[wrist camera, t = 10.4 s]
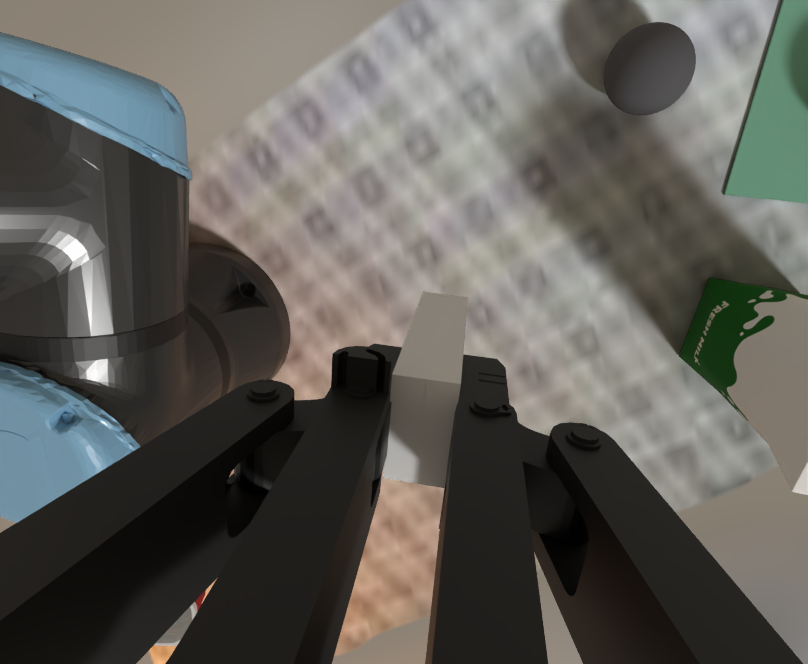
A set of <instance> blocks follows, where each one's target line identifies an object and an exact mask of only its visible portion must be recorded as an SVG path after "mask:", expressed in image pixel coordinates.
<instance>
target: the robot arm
mask: <svg viewBox="0 0 808 664" xmlns="http://www.w3.org/2000/svg"><path fill="white" fill-rule="evenodd" d="M186 137H187V136H186V120H185V115H184V111H183V109H182V107H181V105H180V103H179V102H178V100H177V99H176V97H175V96H174V95H173V94H172V93H171V92H170V91H169V90H168V89H166V88H165V87H163V86H162V85H160V84H159V83H157V82H155V81H152V80H150V79H147V78H145V77H142V76H139V75H137V74H134V73H131V72H128V71H125V70H123V69H120V68H117V67H114V66H111V65H108V64H105V63H102V62H99V61H96V60H92V59H89V58H86V57H83V56H80V55H77V54H73V53H70V52H67V51H64V50H60V49H57V48H54V47H50V46H47V45H44V44H40V43H37V42H33V41H30V40H26V39H23V38H20V37H15V36H12V35H9V34H5V33H1V32H0V517H2V518H5V519H7V520H10V521H12V522H15V523H16V524H14V525H13V526H11V527H10V528H8V529H6V530H4V531H3V532H1V533H0V664H136V663H137V662H138V661H139V660H140V659H141V658H142V657H143V656H144V655H145V654H146V653H147V652H148V651H149V649H150V648H151V647H152V646H153V645H154V644H155V643H156V642H157V641H158V640H159V639H160V638H161V637H162V636H163V635H164V634H165V633H166V631H167V630H168V629H169V628H170V627H171V626H172V625H173V624H174V623H175V622H176V621H177V620H178V619H179V618H180V617H181V616H182V615H183V613H184V612H185V611H186V610H187V609H188V608H189V607H190V606H191V605H192V604H193V603H194V602H195V601H196V600H197V599H198V598H199V597H200V595H201V594H202V593H203V592H204V591H205V590H206V589H207V588H208V587H209V586H210V585H211V584H212V583H213V582H214V581H215V580H216V579H217V580H216V581H215V583H214V585H213V586H212V588H211V590H210V591H209V593H208V595H207V596H206V598H205V600H204V602H203V603H202V605H201V607H200V608H199V610H198V612H197V613H196V615H195V617H194V618H193V620H192V622H191V623H190V625H189V627H188V628H187V630H186V632H185V633H184V635H183V637H182V638H181V640H180V642H179V643H178V645H177V647H176V649H175V650H174V652H173V654H172V655H171V657H170V658H169V659H168V661H167V662H166V664H332V661H333V657H334V654H335V650H336V646H337V643H338V639H339V636H340V632H341V629H342V625H343V621H344V618H345V614H346V611H347V607H348V604H349V600H350V597H351V593H352V589H353V586H354V582H355V579H356V575H357V572H358V568H359V565H360V561H361V557H362V554H363V550H364V547H365V543H366V540H367V536H368V532H369V529H370V525H371V522H372V518H373V515H374V511H375V508H376V504H377V500H378V497H379V493H380V486H381V475H382V470H383V467H384V472H383V478H386V479H392V480H398V481H404V482H410V483H417V484H423V485H429V486H435V487H441V488H445V490H444V497H443V504H442V511H441V518H440V525H439V529H440V532H439V542H438V551H437V560H436V569H435V579H434V588H433V597H432V606H431V616H430V625H429V634H428V644H427V653H426V662H425V664H548V659H547V651H546V643H545V636H544V627H543V620H542V611H541V603H540V596H539V588H538V580H537V572H536V564H535V556H534V552H535V554H536V557H537V559H538V561H539V563H540V566H541V568H542V570H543V572H544V575H545V577H546V579H547V582H548V584H549V586H550V588H551V591H552V593H553V596H554V598H555V600H556V602H557V605H558V607H559V609H560V612H561V614H562V616H563V618H564V621H565V623H566V625H567V628H568V630H569V632H570V634H571V637H572V639H573V641H574V644H575V646H576V648H577V651H578V653H579V655H580V657H581V660H582V662H583V664H803V663H802V662H801V661H800V660H799V658H798V657H797V656H796V655H795V654H794V653H793V651H792V650H791V649H790V648H789V646H788V645H787V644H786V643H785V642H784V640H783V639H782V638H781V637H780V636H779V635H778V634H777V632H776V631H775V630H774V629H773V628H772V626H771V625H770V624H769V623H768V622H767V620H766V619H765V618H764V617H763V616H762V614H761V613H760V612H759V611H758V610H757V609H756V607H755V606H754V605H753V604H752V603H751V601H750V600H749V599H748V598H747V597H746V596H745V594H744V593H743V592H742V591H741V590H740V588H739V587H738V586H737V585H736V584H735V583H734V581H733V580H732V579H731V578H730V577H729V575H728V574H727V573H726V572H725V571H724V570H723V568H722V567H721V566H720V565H719V564H718V562H717V561H716V560H715V559H714V558H713V557H712V555H711V554H710V553H709V552H708V551H707V550H706V548H705V547H704V546H703V545H702V544H701V542H700V541H699V540H698V539H697V538H696V536H695V535H694V534H693V533H692V532H691V531H690V529H689V528H688V527H687V526H686V525H685V524H684V522H683V521H682V520H681V519H680V518H679V516H678V515H677V514H676V513H675V512H674V510H673V509H672V508H671V507H670V506H669V505H668V503H667V502H666V501H665V500H664V499H663V497H662V496H661V495H660V494H659V493H658V491H657V490H656V489H655V488H654V487H653V486H652V484H651V483H650V482H649V481H648V480H647V478H646V477H645V476H644V475H643V474H642V473H641V471H640V470H639V469H638V468H637V467H636V465H635V464H634V463H633V462H632V461H631V460H630V458H629V457H628V456H627V455H626V454H625V452H624V451H623V450H622V449H621V448H620V447H619V445H618V444H617V443H616V442H615V441H614V440H613V439H612V438H611V437H610V436H609V435H607V434H606V433H604V432H602V431H600V430H599V429H597V428H596V427H593V426H590V425H589V426H588V425H587V424H583V423H560V424H558V425H556V426H554V427H553V429H552V431H551V433H550V436H547V435H544V434H541V433H538V432H535V431H533V430H530V429H528V428H526V427H524V426H523V425H521V424H520V423H518V421H517V413H516V411H515V409H514V408H513V407H512V406H511V405H510V404H509V397H508V388H507V378H506V369H505V367H504V366H503V365H502V364H501V363H500V362H499V361H498V360H497V359H492V358H485V357H478V356H470V355H463V351H464V339H465V326H466V314H467V301H468V297H461V296H453V295H445V294H437V293H429V292H423V294H422V296H421V299H420V302H419V304H418V307H417V310H416V312H415V315H414V318H413V320H412V323H411V326H410V328H409V331H408V334H407V336H406V339H405V342H404V344H403V347H394V346H387V345H380V344H373V345H371V346H369V347H364V346H353V347H345V348H342V349H339V350H337V351H336V352H334V353H333V358H332V382H331V388H330V390H329V392H328V393H327V395H326V397H325V398H323V399H317V400H295V401H294V390H293V389H292V388H291V387H290V386H289V385H287V384H285V383H282V382H278V381H273V380H272V378H273V377H274V376H275V375H276V374H277V373H278V371H279V370H280V368H281V367H282V365H283V363H284V361H285V359H286V356H287V353H288V349H289V344H290V323H289V317H288V313H287V310H286V307H285V304H284V302H283V299H282V297H281V295H280V293H279V292H278V290H277V288H276V287H275V285H274V284H273V282H272V281H271V280H270V278H269V277H268V276H267V275H266V274H265V273H264V272H263V271H262V270H261V269H260V268H259V267H258V266H257V265H256V264H254V263H253V262H252V261H250V260H249V259H248V258H246V257H244V256H243V255H241V254H239V253H237V252H235V251H233V250H231V249H228V248H225V247H222V246H218V245H214V244H207V243H192V244H189V180H192V171H191V170H190V169H189V167H188V154H187V138H186ZM233 469H234V474H233V475H231V476H230V473H231V471H232V470H233ZM229 476H230V477H229ZM217 577H218V578H217Z"/></svg>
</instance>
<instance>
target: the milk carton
mask: <svg viewBox="0 0 808 664" xmlns="http://www.w3.org/2000/svg"><path fill="white" fill-rule="evenodd" d="M679 357H680V358H682V359H683V360H684V361H685V362H686V363H687V364H688V365H689V366H691V367H692V368H693V369H694V370H695V371H696V372H697V373H698V374H700V375H701V376H702V377H703V378H704V379H705V380H706V381H707V382H708V383H710V384H711V385H712V386H713V387H714V388H715V389H716V390H717V391H719V392H720V393H721V394H722V395H723V397H724V398H725V399H726V400H727V401H728V402H729V403H730V404H731V405H732V406H733V407H734V408H735V409H736V410H737V411H738V412H739V413H740V415H741V416H742V417H743V418H744V419H745V420H746V421H747V422H748V423H749V424H750V425H751V426H752V427H753V428H754V429H755V430H756V431H757V433H758V434H759V435H760V436H761V437H762V438H763V439H764V440H765V441H766V442H767V443H768V444H769V446H770V448H771V450H772V452H773V454H774V456H775V458H776V460H777V462H778V464H779V466H780V468H781V470H782V473H783V475H784V477H785V479H786V481H787V483H788V485H789V487H790V489H791V491H792V492H796V493H801V494H806V495H808V295H804V294H799V293H794V292H789V291H784V290H779V289H773V288H768V287H762V286H756V285H750V284H743V283H737V282H732V281H726V280H720V279H714V278H709V279H708V282H707V285H706V287H705V290H704V292H703V295H702V298H701V300H700V303H699V305H698V308H697V311H696V313H695V316H694V318H693V321H692V323H691V326H690V329H689V331H688V334H687V336H686V339H685V342H684V344H683V347H682V349H681V352H680V355H679Z"/></svg>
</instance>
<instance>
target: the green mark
mask: <svg viewBox="0 0 808 664" xmlns="http://www.w3.org/2000/svg"><path fill="white" fill-rule="evenodd" d="M724 195H733V196H743V197H753V198H763V199H773V200H782V201H792V202H802V203H808V0H782V3H781V6H780V10H779V13H778V16H777V20H776V23H775V26H774V29H773V33H772V36H771V39H770V43H769V46H768V49H767V53H766V56H765V59H764V62H763V66H762V69H761V72H760V76H759V79H758V82H757V86H756V89H755V92H754V95H753V99H752V102H751V105H750V109H749V112H748V115H747V119H746V122H745V125H744V128H743V132H742V135H741V138H740V142H739V145H738V148H737V152H736V155H735V158H734V161H733V165H732V168H731V171H730V175H729V178H728V181H727V185H726V188H725V191H724Z"/></svg>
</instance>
